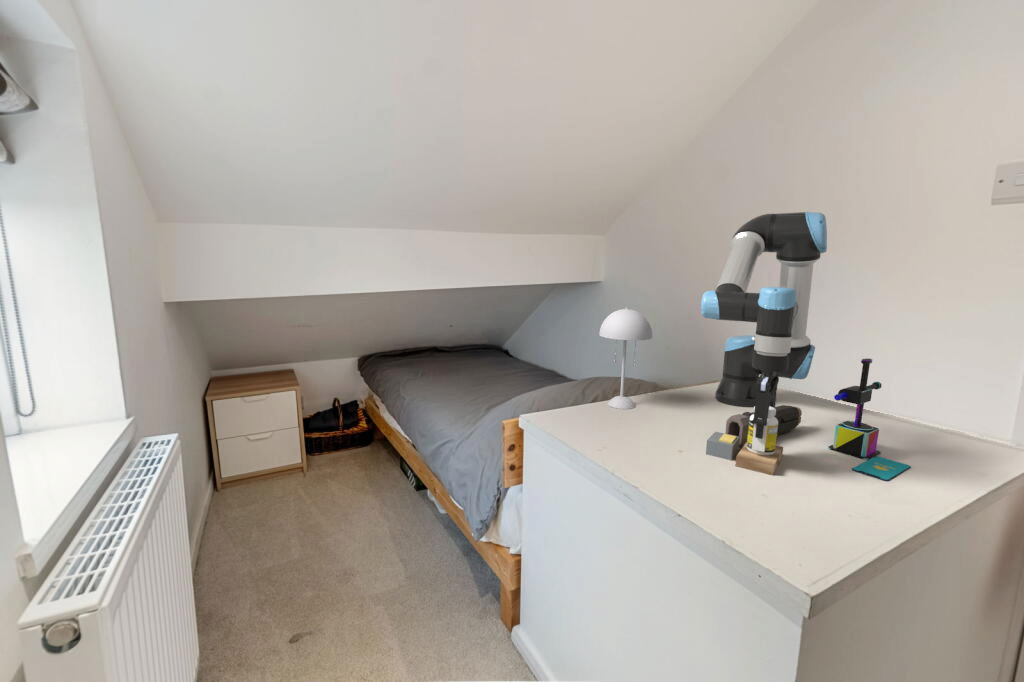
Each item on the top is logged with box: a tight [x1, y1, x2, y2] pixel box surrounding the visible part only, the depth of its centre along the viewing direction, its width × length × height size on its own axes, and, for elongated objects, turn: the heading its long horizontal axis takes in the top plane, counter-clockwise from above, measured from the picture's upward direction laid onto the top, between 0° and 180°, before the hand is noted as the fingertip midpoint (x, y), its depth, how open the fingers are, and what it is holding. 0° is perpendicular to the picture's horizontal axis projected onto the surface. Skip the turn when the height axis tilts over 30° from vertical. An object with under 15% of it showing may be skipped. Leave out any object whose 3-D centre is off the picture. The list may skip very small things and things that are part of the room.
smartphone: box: [851, 455, 911, 482], centre depth 114 cm, size 7×1×15 cm
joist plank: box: [735, 442, 784, 476], centre depth 117 cm, size 14×8×2 cm, turn 143°
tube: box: [724, 404, 803, 448], centre depth 133 cm, size 11×7×30 cm
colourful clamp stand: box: [827, 358, 882, 461], centre depth 125 cm, size 25×9×24 cm, turn 124°
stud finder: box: [705, 431, 740, 461], centre depth 121 cm, size 8×6×4 cm
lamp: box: [598, 307, 653, 410], centre depth 159 cm, size 17×17×33 cm
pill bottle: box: [747, 406, 778, 455], centre depth 116 cm, size 6×6×11 cm
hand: (761, 445), depth 116 cm, fingers open, 7 cm apart
